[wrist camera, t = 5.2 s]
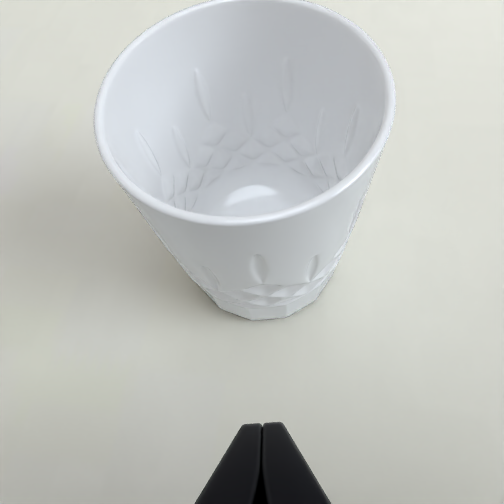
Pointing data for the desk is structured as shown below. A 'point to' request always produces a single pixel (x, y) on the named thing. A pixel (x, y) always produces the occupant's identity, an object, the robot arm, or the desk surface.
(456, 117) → the desk surface
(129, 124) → the white cup
